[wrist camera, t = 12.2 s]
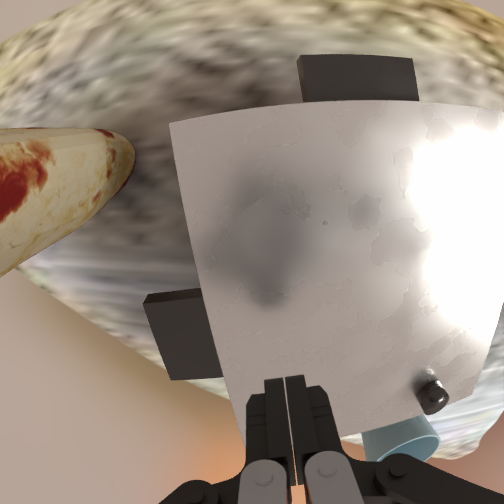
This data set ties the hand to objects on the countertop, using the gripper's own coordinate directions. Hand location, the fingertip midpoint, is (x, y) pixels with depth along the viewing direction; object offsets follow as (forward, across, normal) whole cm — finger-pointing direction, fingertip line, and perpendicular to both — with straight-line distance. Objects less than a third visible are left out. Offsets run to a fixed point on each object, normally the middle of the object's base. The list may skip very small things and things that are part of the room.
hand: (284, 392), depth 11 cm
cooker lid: (+5, -4, 0) cm, 7 cm away
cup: (+15, -11, +19) cm, 27 cm away
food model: (+15, +12, -9) cm, 21 cm away
